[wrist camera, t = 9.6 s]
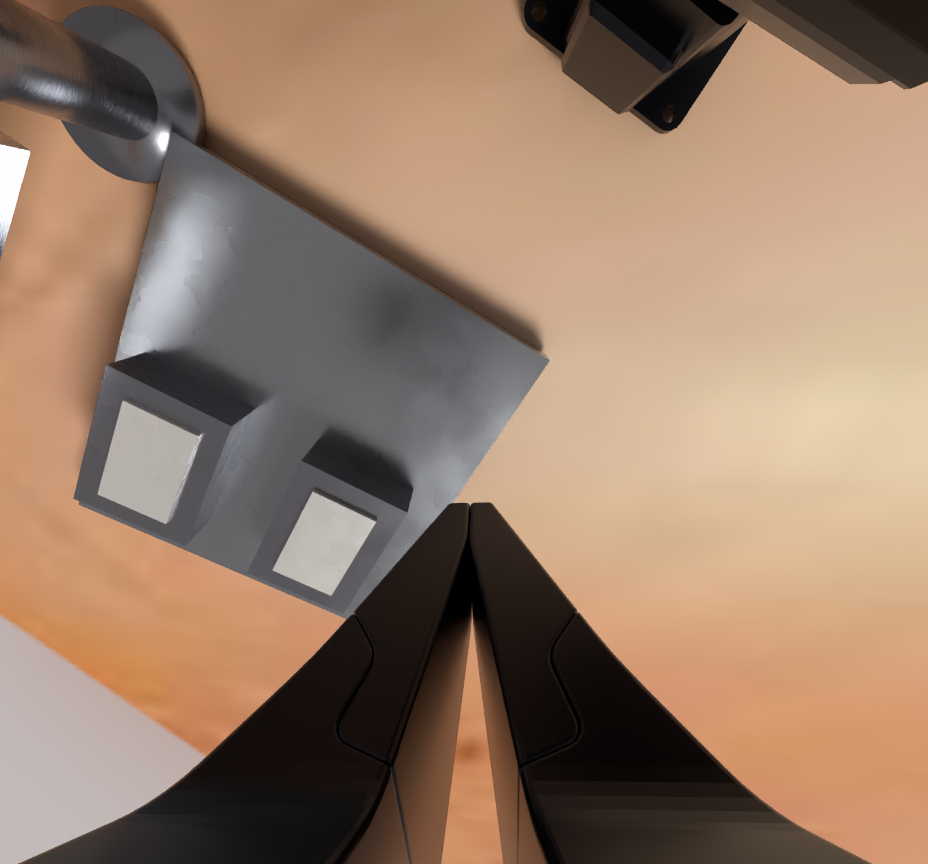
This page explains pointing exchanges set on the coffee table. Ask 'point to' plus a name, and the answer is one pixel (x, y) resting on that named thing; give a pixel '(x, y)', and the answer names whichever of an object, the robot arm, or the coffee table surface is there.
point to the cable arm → (10, 180)
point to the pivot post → (102, 84)
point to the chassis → (289, 391)
